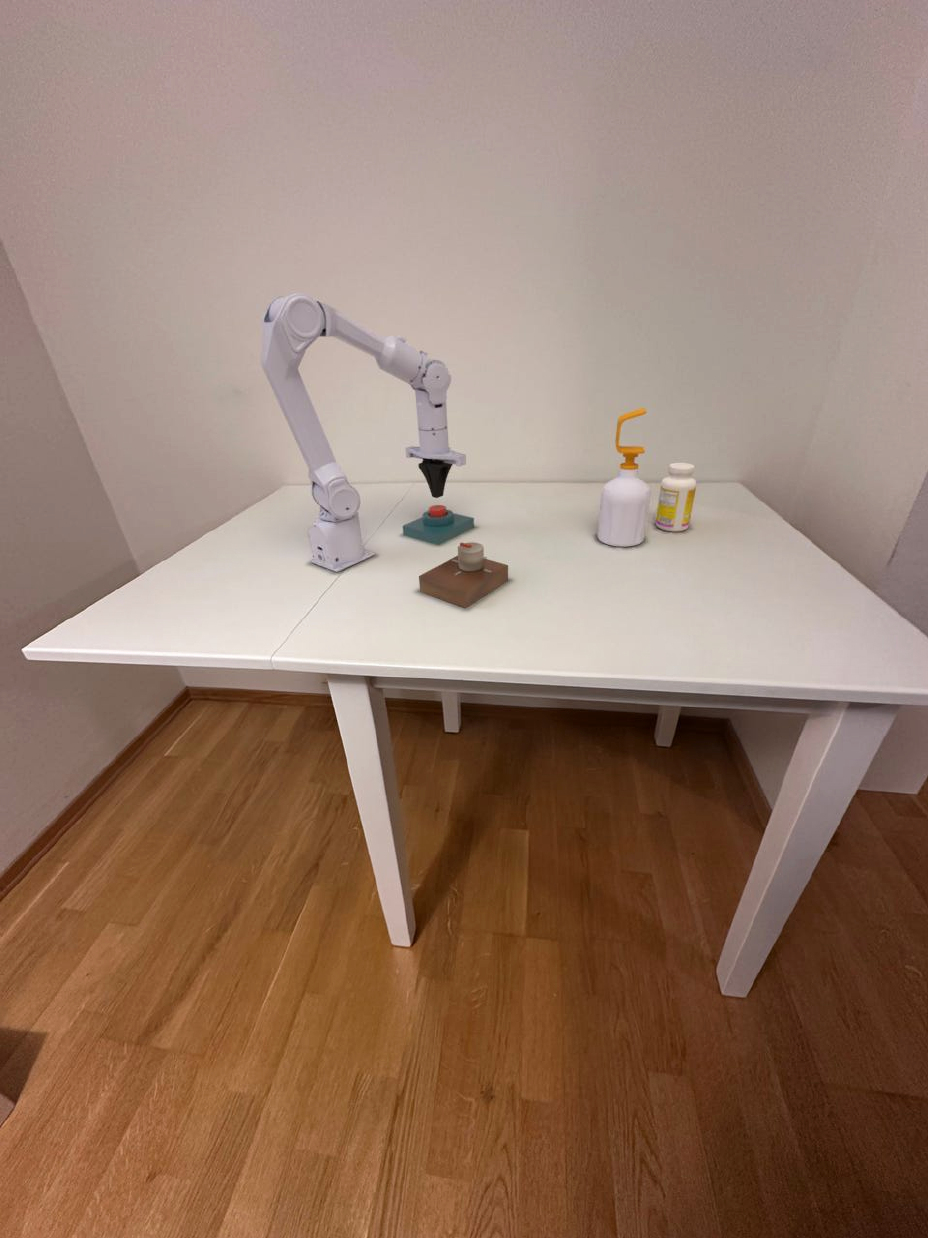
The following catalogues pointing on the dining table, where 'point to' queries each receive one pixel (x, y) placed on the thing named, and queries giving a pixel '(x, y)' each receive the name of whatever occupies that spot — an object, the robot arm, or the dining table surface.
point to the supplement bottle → (676, 498)
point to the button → (437, 511)
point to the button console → (438, 527)
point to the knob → (470, 556)
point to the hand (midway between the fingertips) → (437, 496)
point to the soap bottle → (624, 498)
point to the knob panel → (463, 581)
